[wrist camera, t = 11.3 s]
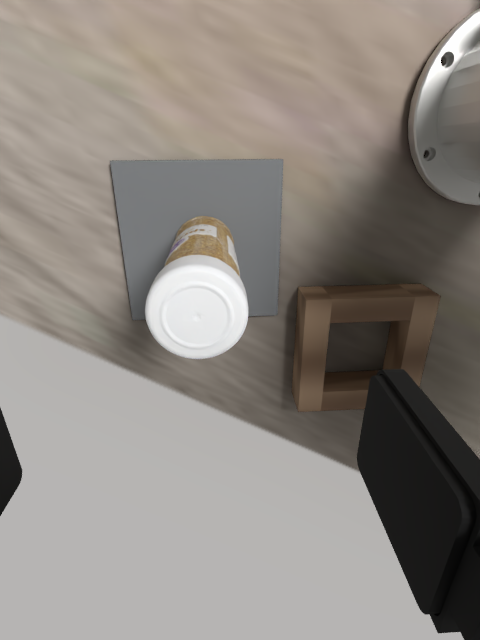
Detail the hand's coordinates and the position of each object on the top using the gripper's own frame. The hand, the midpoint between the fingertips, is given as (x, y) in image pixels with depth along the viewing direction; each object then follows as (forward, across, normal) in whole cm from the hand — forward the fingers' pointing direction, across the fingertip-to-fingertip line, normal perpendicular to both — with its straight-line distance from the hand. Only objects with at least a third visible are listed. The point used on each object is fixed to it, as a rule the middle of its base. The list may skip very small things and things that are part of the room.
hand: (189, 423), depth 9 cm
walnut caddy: (+21, -12, +9) cm, 26 cm away
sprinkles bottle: (+21, 0, 0) cm, 21 cm away
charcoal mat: (+21, +1, 0) cm, 21 cm away
